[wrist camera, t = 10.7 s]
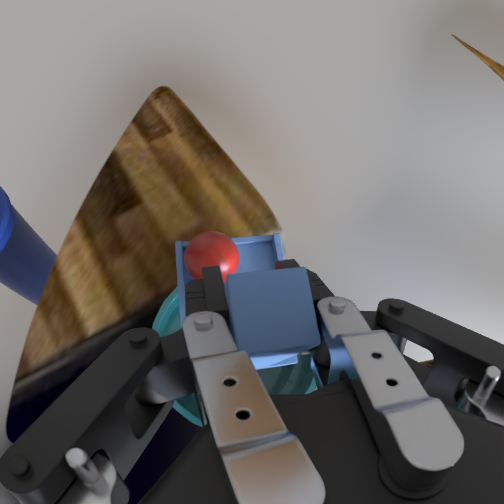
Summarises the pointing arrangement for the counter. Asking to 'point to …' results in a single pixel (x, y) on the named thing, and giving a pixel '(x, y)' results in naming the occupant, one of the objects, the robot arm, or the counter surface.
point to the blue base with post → (263, 302)
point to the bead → (211, 254)
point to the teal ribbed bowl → (274, 379)
